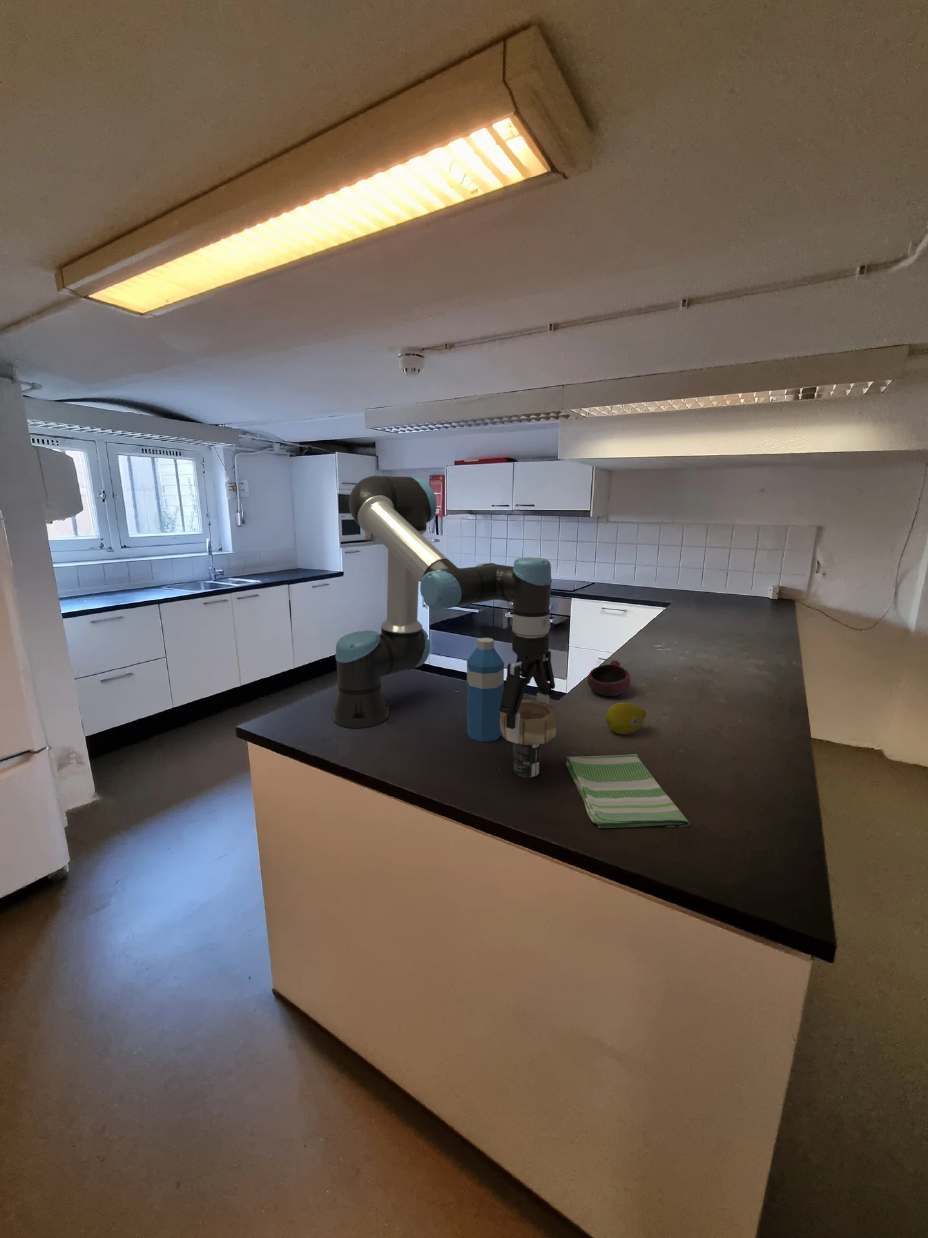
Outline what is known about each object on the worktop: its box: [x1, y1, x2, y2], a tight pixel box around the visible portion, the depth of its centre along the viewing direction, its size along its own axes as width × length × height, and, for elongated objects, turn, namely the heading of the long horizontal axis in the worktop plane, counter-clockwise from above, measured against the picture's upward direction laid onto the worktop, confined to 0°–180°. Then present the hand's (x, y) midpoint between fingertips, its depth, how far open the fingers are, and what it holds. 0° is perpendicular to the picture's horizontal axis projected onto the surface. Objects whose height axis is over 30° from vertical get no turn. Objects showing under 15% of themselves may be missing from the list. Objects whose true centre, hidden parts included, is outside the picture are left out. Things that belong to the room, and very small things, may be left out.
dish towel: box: [564, 753, 691, 829], centre depth 100 cm, size 18×23×3 cm
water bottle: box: [466, 637, 505, 743], centre depth 122 cm, size 9×9×25 cm
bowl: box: [586, 660, 631, 697], centre depth 152 cm, size 16×13×8 cm
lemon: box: [605, 701, 647, 735], centre depth 125 cm, size 11×8×8 cm
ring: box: [500, 699, 558, 745], centre depth 105 cm, size 11×11×5 cm
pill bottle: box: [512, 742, 542, 778], centre depth 106 cm, size 6×6×11 cm
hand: (528, 731), depth 105 cm, fingers closed on ring, 11 cm apart
